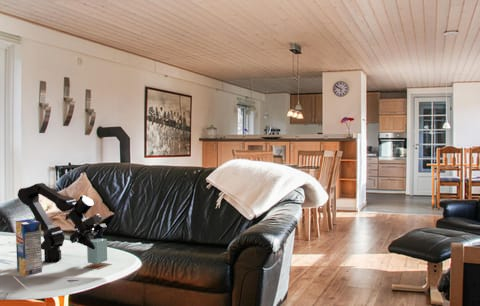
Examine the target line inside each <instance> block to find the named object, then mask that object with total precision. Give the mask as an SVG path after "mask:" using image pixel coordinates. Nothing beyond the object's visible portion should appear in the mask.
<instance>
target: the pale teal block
mask: <svg viewBox="0 0 480 306" xmlns="http://www.w3.org/2000/svg"><path fill="white" fill-rule="evenodd" d="M90 240H91V242H92V243H93V245H94V247H95V249H94V250H93V249H91V248H89V247H87V246H86V247H87V248H86V253H87V254H86V255H87V263H88V264H93V263H94V264H99V263H105V262H107V261H108V239H107V238H104V239H101V238H96V239H94V238H92V239H90Z"/></svg>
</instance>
